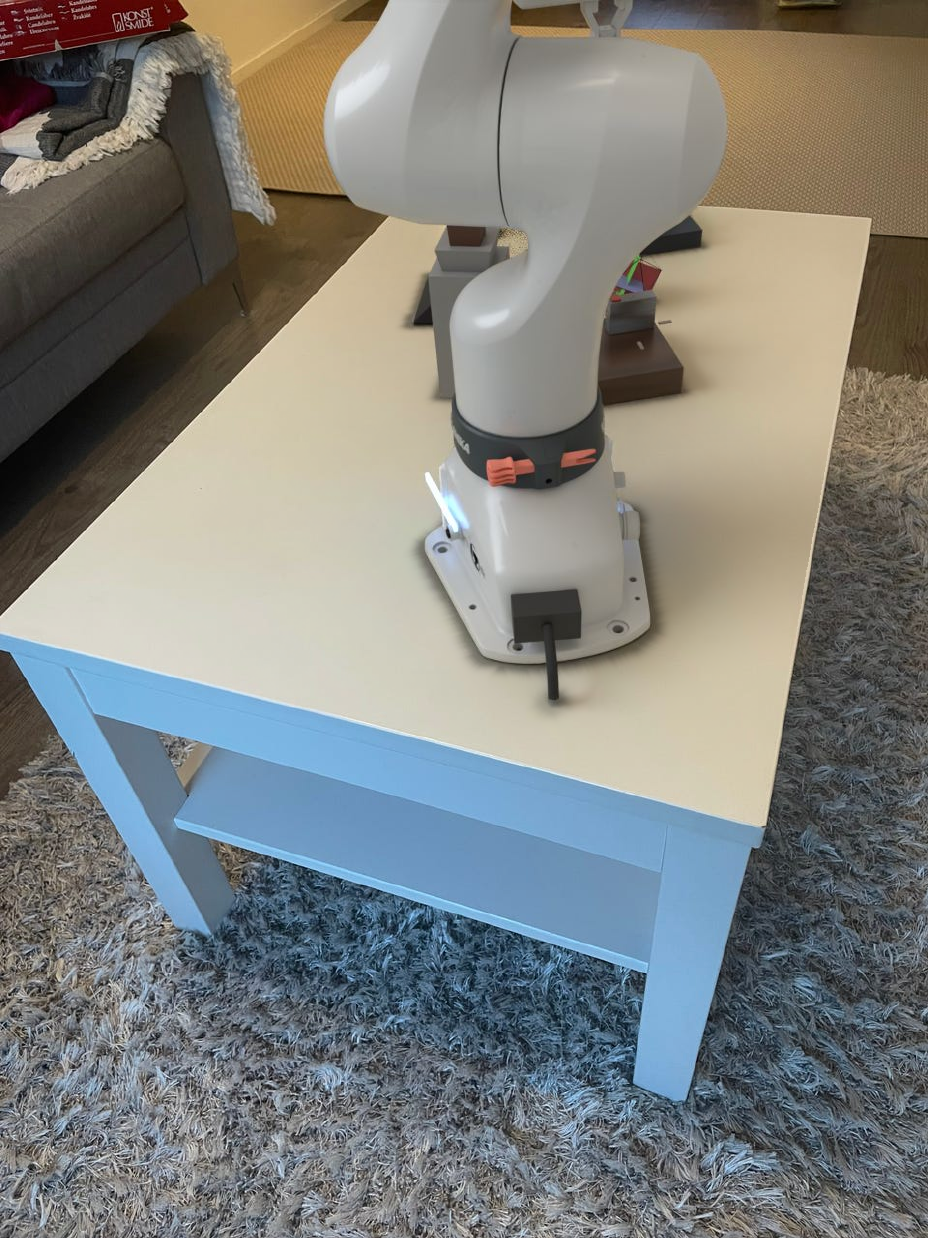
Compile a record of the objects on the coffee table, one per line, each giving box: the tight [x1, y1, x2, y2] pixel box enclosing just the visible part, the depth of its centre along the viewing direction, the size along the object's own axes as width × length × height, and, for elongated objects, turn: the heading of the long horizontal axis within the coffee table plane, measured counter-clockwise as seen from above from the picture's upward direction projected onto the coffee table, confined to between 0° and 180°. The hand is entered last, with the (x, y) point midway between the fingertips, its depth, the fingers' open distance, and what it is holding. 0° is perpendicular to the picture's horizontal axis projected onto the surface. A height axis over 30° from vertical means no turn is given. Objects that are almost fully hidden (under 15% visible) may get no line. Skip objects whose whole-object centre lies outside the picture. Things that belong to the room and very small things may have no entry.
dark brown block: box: [598, 317, 685, 406], centre depth 103 cm, size 14×12×3 cm
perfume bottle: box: [427, 225, 511, 399], centre depth 97 cm, size 7×7×18 cm
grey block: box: [605, 289, 658, 335], centre depth 102 cm, size 5×2×4 cm, turn 100°
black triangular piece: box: [411, 257, 437, 327], centre depth 115 cm, size 12×7×5 cm, turn 173°
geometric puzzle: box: [612, 251, 663, 295], centre depth 111 cm, size 7×7×8 cm
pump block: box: [640, 214, 703, 257], centre depth 124 cm, size 12×10×4 cm
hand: (604, 46), depth 104 cm, fingers closed
